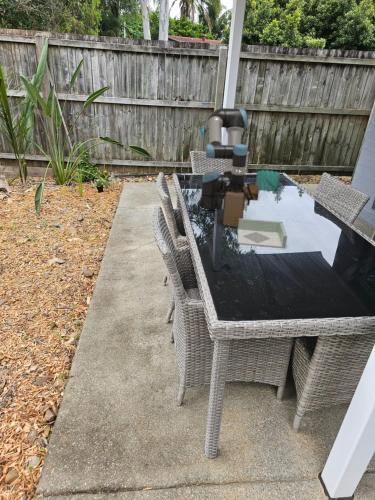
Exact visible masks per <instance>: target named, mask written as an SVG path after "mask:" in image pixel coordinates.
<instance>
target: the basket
mask: <svg viewBox="0 0 375 500" xmlns="http://www.w3.org/2000/svg"><path fill="white" fill-rule="evenodd" d="M280 177H281V173H280V172H278V171H273V170H268V169H267V170H266V169H265V170H264V169H261V170H260V169H259V170H258V171H256V181H255V182H256V183H255V185H257V186H258V190H260V189H261V191H269V192H272V191H276V190H277V189H278V188H279V187H278V184H279V181H280Z"/></svg>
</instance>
